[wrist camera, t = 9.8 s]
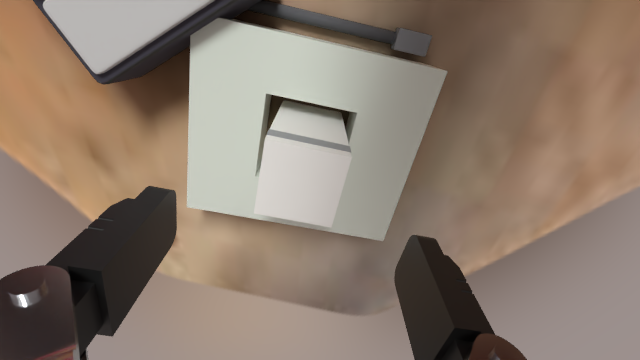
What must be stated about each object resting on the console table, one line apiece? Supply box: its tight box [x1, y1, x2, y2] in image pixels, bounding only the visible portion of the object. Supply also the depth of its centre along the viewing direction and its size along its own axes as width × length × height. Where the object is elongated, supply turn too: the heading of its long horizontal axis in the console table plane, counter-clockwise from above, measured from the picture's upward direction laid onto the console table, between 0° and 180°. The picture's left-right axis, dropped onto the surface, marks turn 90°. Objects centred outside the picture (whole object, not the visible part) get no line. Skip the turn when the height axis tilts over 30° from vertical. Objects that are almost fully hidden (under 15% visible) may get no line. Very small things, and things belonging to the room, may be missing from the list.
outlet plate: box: [187, 18, 448, 241], centre depth 20 cm, size 12×14×3 cm
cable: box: [247, 0, 432, 57], centre depth 18 cm, size 1×13×1 cm, turn 78°
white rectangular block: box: [254, 100, 352, 228], centre depth 18 cm, size 4×4×8 cm
